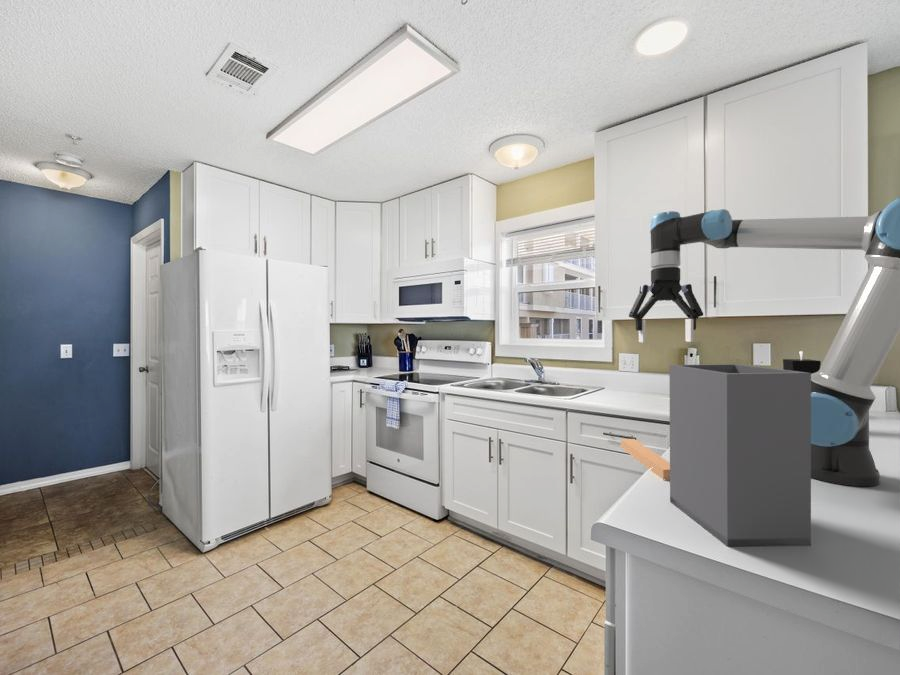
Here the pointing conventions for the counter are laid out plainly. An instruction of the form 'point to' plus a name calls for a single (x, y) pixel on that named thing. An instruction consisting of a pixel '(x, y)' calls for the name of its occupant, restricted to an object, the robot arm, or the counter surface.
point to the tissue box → (801, 364)
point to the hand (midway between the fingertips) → (665, 342)
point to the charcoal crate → (742, 452)
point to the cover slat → (647, 458)
